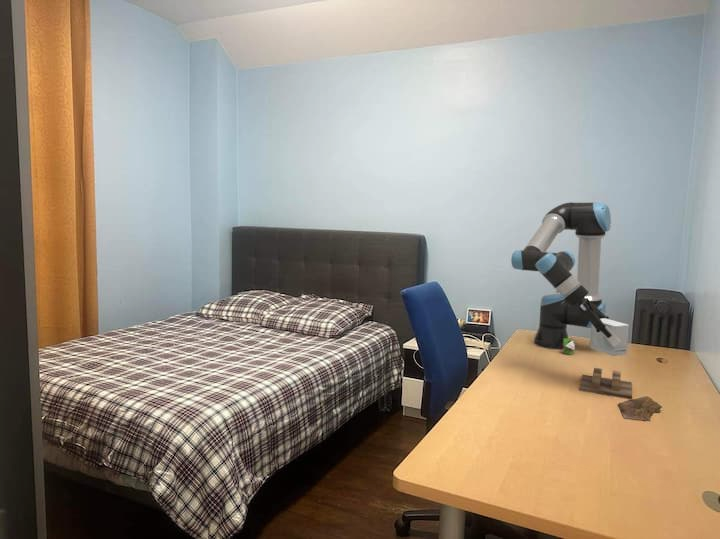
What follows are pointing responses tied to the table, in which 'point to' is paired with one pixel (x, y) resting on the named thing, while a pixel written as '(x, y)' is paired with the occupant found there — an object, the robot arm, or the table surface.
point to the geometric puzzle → (568, 345)
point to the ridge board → (606, 384)
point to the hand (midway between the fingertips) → (617, 340)
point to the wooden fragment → (639, 408)
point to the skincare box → (604, 345)
